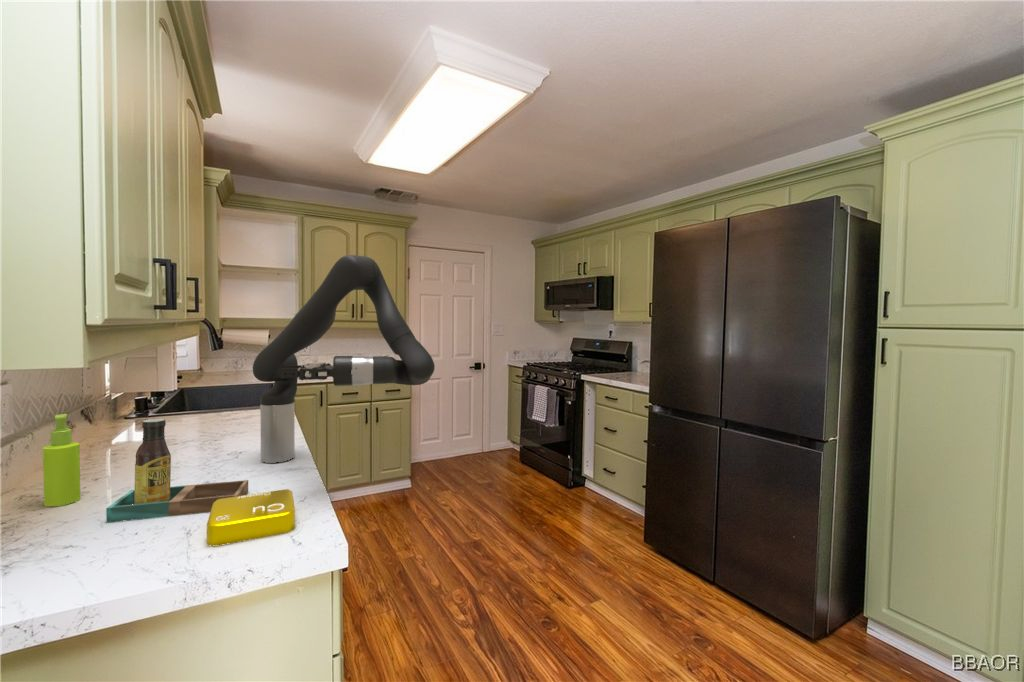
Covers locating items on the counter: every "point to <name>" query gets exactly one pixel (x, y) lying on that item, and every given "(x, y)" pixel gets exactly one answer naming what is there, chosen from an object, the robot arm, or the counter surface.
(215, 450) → the counter surface
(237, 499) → the element tile
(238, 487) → the twin dock
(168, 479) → the sauce bottle
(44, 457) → the soap dispenser
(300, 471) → the counter surface
